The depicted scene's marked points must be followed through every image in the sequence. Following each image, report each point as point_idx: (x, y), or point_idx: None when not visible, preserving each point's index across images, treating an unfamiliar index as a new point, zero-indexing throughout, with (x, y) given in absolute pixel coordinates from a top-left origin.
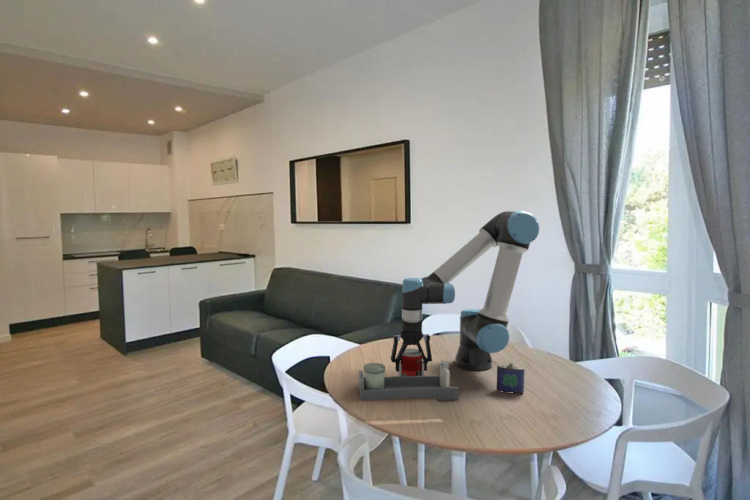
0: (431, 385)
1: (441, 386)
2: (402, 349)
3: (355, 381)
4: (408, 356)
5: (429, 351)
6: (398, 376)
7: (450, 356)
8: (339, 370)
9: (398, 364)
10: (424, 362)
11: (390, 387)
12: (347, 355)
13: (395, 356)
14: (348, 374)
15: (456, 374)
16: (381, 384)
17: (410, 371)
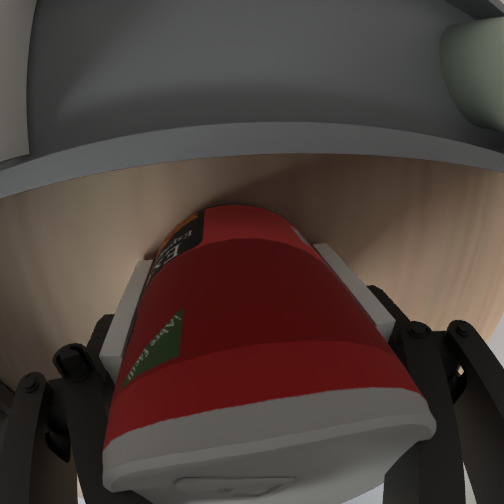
0: (84, 130)
1: (22, 94)
2: (456, 474)
3: (490, 245)
4: (384, 387)
5: (10, 471)
6: None
7: None
8: (482, 335)
9: (393, 327)
10: (93, 365)
11: (410, 107)
12: None
13: (473, 368)
14: (480, 310)
15: (2, 340)
16: (493, 18)
17: (271, 240)
